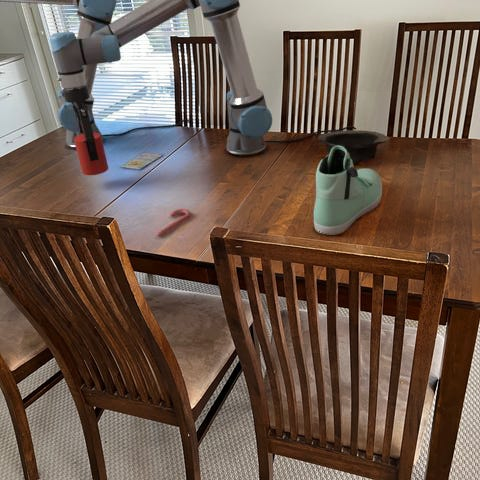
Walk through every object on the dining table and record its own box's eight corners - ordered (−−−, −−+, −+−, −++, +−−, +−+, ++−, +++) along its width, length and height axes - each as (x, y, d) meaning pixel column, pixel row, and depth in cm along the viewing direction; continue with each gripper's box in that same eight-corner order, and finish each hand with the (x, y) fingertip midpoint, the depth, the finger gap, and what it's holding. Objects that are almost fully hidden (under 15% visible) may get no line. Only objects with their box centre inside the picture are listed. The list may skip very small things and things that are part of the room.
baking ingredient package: (119, 165, 178) (143, 152, 189) (120, 167, 178) (143, 153, 189) (139, 168, 174) (162, 154, 185) (139, 169, 174) (162, 155, 186)
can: (77, 171, 163) (68, 138, 156) (99, 163, 168) (91, 130, 162) (91, 177, 157) (83, 143, 151) (113, 168, 163) (105, 135, 157)
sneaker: (389, 187, 148) (396, 123, 138) (356, 242, 123) (361, 168, 112) (346, 181, 154) (350, 119, 144) (306, 232, 129) (307, 161, 118)
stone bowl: (346, 175, 157) (346, 148, 153) (303, 158, 178) (302, 133, 173) (403, 157, 166) (405, 130, 162) (356, 142, 186) (356, 118, 182)
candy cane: (144, 233, 135) (143, 228, 134) (179, 210, 145) (179, 206, 144) (160, 238, 132) (159, 233, 131) (195, 214, 142) (194, 210, 141)
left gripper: (-90, 32, 155) (-64, 97, 166) (-8, 23, 162) (12, 86, 173) (-86, 29, 161) (-61, 93, 172) (-6, 20, 168) (13, 82, 179)
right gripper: (57, 82, 155) (75, 148, 167) (67, 96, 138) (86, 168, 150) (80, 78, 158) (96, 144, 170) (93, 91, 141) (110, 163, 153)
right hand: (91, 155), depth 160 cm, fingers closed on can, 9 cm apart
